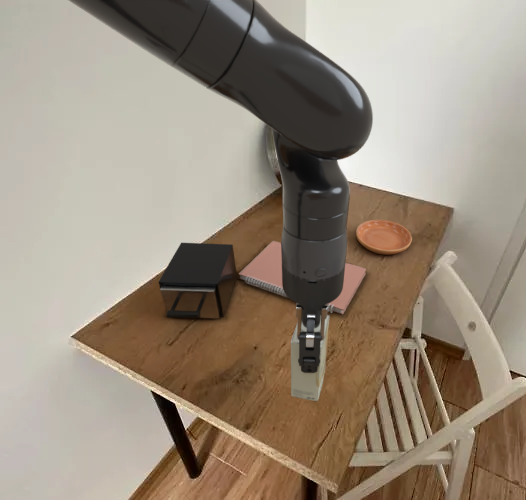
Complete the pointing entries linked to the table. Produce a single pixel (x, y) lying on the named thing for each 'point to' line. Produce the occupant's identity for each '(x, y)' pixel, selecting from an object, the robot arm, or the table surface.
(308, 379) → the cosmetic box
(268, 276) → the notebook
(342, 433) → the table surface
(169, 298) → the drawer
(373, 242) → the saucer
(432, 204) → the table surface
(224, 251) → the cabinet
